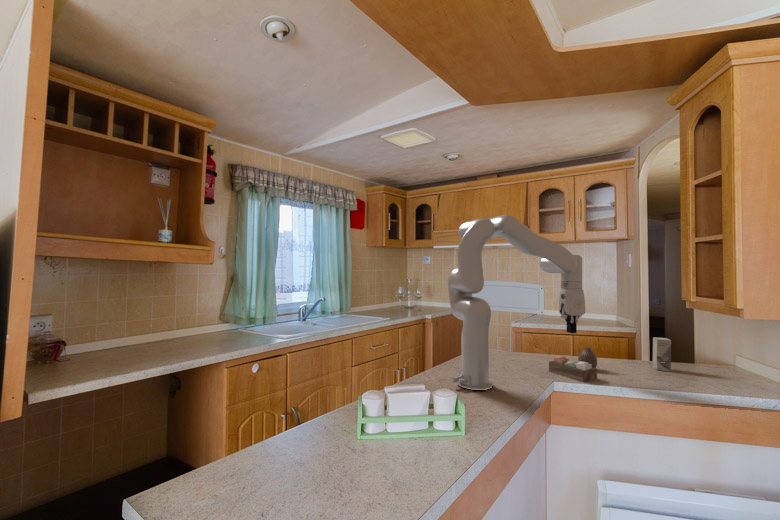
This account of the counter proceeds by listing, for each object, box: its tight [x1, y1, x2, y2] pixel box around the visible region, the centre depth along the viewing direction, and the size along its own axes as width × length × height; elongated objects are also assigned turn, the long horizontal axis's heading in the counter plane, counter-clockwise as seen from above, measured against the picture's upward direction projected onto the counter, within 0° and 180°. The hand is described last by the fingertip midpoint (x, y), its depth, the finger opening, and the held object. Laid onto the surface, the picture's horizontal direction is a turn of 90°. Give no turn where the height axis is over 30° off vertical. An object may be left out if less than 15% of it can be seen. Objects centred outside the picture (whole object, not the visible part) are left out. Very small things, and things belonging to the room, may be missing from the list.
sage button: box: [565, 360, 578, 367], centre depth 140 cm, size 4×4×3 cm
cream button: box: [576, 361, 592, 370], centre depth 136 cm, size 4×4×3 cm
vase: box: [577, 347, 598, 368], centre depth 148 cm, size 7×7×9 cm
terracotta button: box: [553, 355, 570, 364], centre depth 145 cm, size 4×4×3 cm
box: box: [652, 336, 672, 372], centre depth 148 cm, size 5×4×13 cm
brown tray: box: [548, 360, 598, 383], centre depth 140 cm, size 8×15×4 cm, turn 26°
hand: (571, 332), depth 141 cm, fingers closed
